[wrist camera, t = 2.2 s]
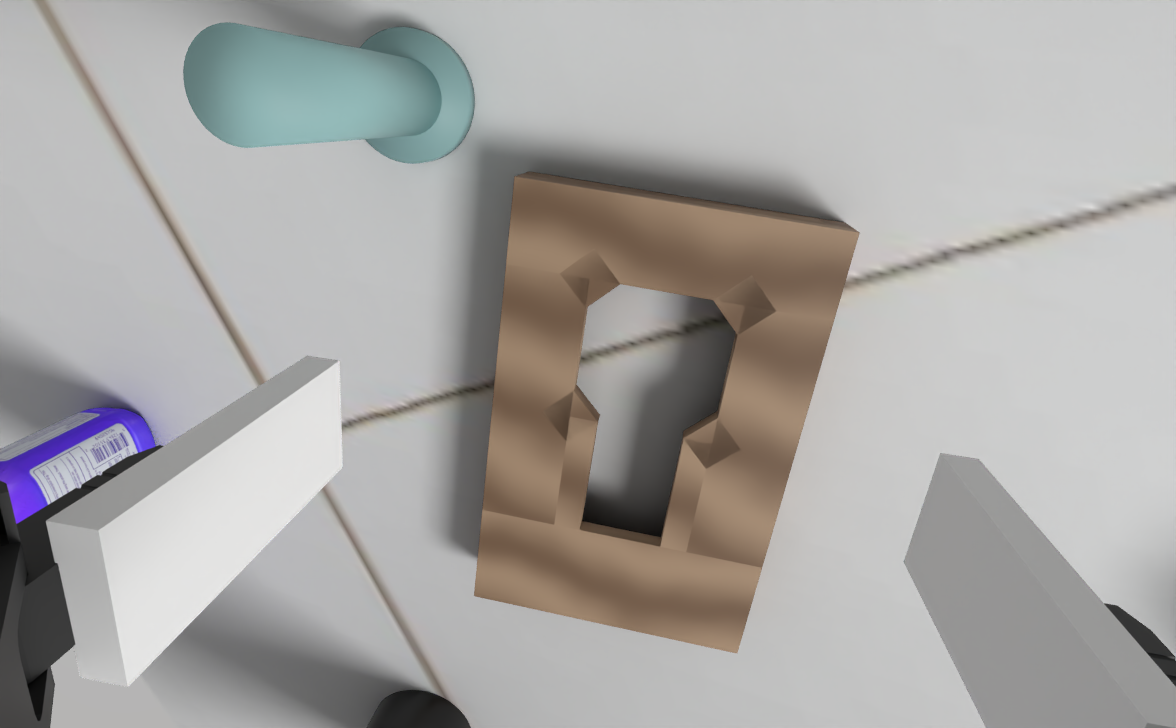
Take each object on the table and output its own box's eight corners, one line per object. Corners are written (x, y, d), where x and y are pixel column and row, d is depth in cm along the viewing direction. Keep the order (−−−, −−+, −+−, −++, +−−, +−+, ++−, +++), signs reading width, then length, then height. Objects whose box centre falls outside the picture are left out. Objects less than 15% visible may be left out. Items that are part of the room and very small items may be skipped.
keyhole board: (529, 171, 38) (514, 176, 35) (845, 222, 37) (859, 232, 34) (488, 564, 49) (473, 595, 45) (734, 617, 47) (737, 653, 44)
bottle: (82, 395, 49) (-221, 535, 32) (152, 401, 48) (-122, 546, 32) (106, 482, 51) (-163, 651, 35) (173, 488, 50) (-70, 664, 34)
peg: (357, 21, 37) (132, -42, 22) (479, 39, 36) (332, -14, 21) (356, 152, 39) (153, 174, 25) (470, 170, 39) (333, 205, 24)
